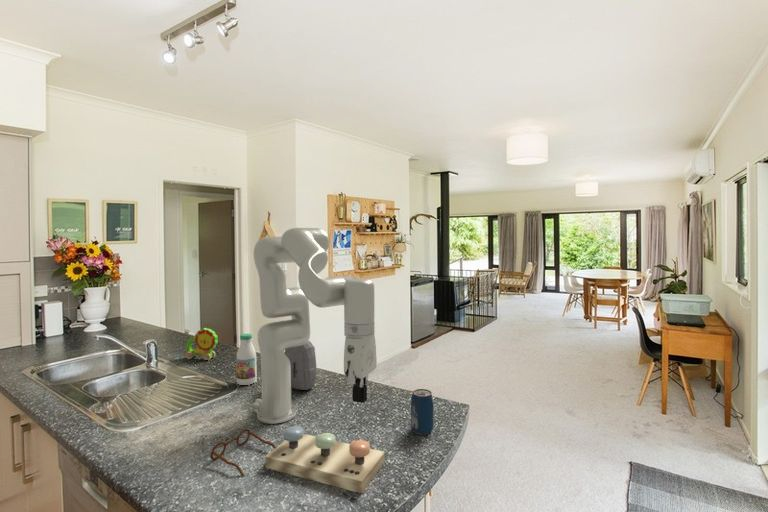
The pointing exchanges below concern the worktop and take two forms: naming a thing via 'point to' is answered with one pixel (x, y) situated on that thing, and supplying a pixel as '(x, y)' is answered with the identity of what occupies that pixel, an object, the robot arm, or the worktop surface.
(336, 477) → the wooden button board
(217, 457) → the glasses
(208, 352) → the toy lion
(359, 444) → the terracotta key
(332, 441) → the sage key
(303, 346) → the small grey backpack
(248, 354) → the milk bottle
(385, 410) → the worktop surface
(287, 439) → the slate-blue key
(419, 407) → the soda can
